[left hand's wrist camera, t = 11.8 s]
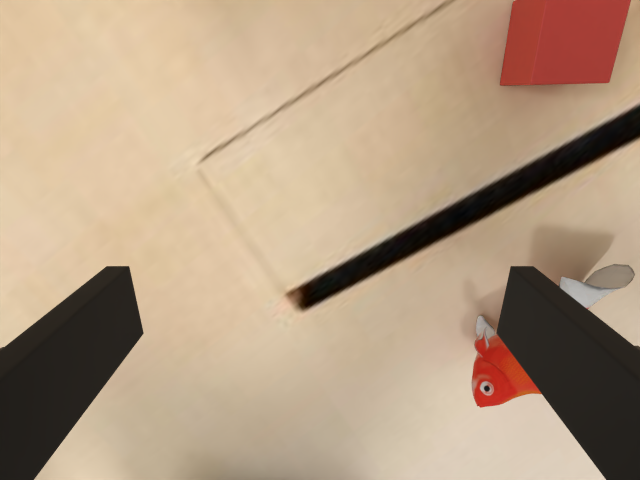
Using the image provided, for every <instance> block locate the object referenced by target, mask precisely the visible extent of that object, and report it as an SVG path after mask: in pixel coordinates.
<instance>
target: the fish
mask: <svg viewBox="0 0 640 480" xmlns="http://www.w3.org/2000/svg"><path fill="white" fill-rule="evenodd" d="M634 276H635V274H634V271H633V269H632V268H631V267H630V266H629V265H618V264H614V265H610V266H607V267H604V268H602V269H600V270H597V271H595V272H594V273H593V274H592V275H591V276H590V277H589V278H588V279H587V280H586V281H585V283H583V282H580V281H576V280H573V279H569V278H565V277H561V280H560V284H559V287H560V288H561V289H562V290H564V291H565V292H566V293H568V294H569V295H570V296H571V297H573V298H574V299H575V300H576V301H578V302H579V303H580V304H581V305H583V306H584V307H585V308H587V309H588V308H589V307H591V306H592V305H593V304H594V303H596V302H597V301H598V300H600V299H601V298H603V297H604V296H606V295H608V294H609V293H611V292H613V291H615V290H617V289H620V288H623V287H626V286H627V285H628V284H629V283H630V282H631V281H632V279H633V278H634ZM476 334H477V336H478V338H477V339H476V341H475V345H474V346H475V348H476V350H477V352H478V353H477V355H476V359H475V362H474V367H473V376H472V392H473V396H474V399H475V402H476V404H477V406H479V407H486V406H495V405H500V404H503V403H505V402H507V401H509V400H511V399H513V398H515V397H518V396H522V395H525V394H531V393H537V394H542V393H541V392H540V391H539V389H538V388H537V387H536V385H535V384H534V383H533V381H532V380H531V379H530V377H529V376H528V375H527V373H526V372H525V371H524V369H523V368H522V367H521V365H520V364H519V363H518V361H517V360H516V359H515V357H514V356H513V355H512V353H511V352H510V351H509V349H508V348H507V347H506V345H505V344H504V343H503V341H502V340H501V339H500V337H499V336H498V335H494V334H495V331H494V329H493V327H492V326H491V325H490V324H489V323H488V322H487V321H486V320H485V319H484V317H483V316H478V318H477V324H476Z"/></svg>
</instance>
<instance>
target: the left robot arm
mask: <svg viewBox="0 0 640 480" xmlns="http://www.w3.org/2000/svg"><path fill="white" fill-rule="evenodd" d="M142 335H143V329H142V324H141V319H140V315H139V310H138V305H137V301H136V296H135V291H134V287H133V282H132V277H131V273H130V268H129V266H107V267H105V268H104V269H103V270H102V271H100V272H99V273H98V274H97V275H95V276H94V277H93V278H91V279H90V280H89V281H88V282H86V283H85V284H84V285H83V286H81V287H80V288H79V289H78V290H76V291H75V292H74V293H72V294H71V295H70V296H69V297H67V298H66V299H65V300H64V301H62V302H61V303H60V304H59V305H57V306H56V307H55V308H53V309H52V310H51V311H50V312H48V313H47V314H46V315H45V316H43V317H42V318H41V319H40V320H38V321H37V322H36V323H34V324H33V325H32V326H31V327H29V328H28V329H27V330H26V331H24V332H23V333H22V334H20V335H19V336H18V337H17V338H15V339H14V340H13V341H12V342H10V343H9V344H8V345H7V346H5V347H2V348H0V480H34V479H35V477H36V476H37V475H38V473H39V472H40V471H41V469H42V468H43V467H44V465H45V464H46V463H47V461H48V460H49V459H50V457H51V456H52V455H53V453H54V452H55V451H56V449H57V448H58V447H59V445H60V444H61V443H62V441H63V440H64V439H65V437H66V436H67V435H68V433H69V432H70V431H71V429H72V428H73V427H74V425H75V424H76V423H77V421H78V420H79V419H80V417H81V416H82V415H83V413H84V412H85V411H86V409H87V408H88V407H89V405H90V404H91V403H92V401H93V400H94V399H95V397H96V396H97V395H98V393H99V392H100V391H101V389H102V388H103V387H104V385H105V384H106V383H107V381H108V380H109V379H110V377H111V376H112V375H113V373H114V372H115V371H116V369H117V368H118V367H119V365H120V364H121V363H122V361H123V360H124V359H125V357H126V356H127V355H128V353H129V352H130V351H131V349H132V348H133V347H134V345H135V344H136V343H137V341H138V340H139V339H140V337H141V336H142ZM497 335H498V336H499V337H500V339H501V340H502V341H503V343H504V344H505V345H506V347H507V348H508V349H509V351H510V352H511V353H512V355H513V356H514V357H515V359H516V360H517V361H518V363H519V364H520V365H521V367H522V368H523V369H524V371H525V372H526V373H527V375H528V376H529V377H530V379H531V380H532V381H533V383H534V384H535V385H536V387H537V388H538V389H539V391H540V392H541V393H542V395H543V396H544V397H545V399H546V400H547V401H548V403H549V404H550V405H551V407H552V408H553V409H554V411H555V412H556V413H557V415H558V416H559V417H560V419H561V420H562V421H563V423H564V424H565V425H566V427H567V428H568V429H569V431H570V432H571V433H572V435H573V436H574V437H575V439H576V440H577V441H578V443H579V444H580V445H581V447H582V448H583V449H584V451H585V452H586V453H587V455H588V456H589V457H590V459H591V460H592V461H593V463H594V464H595V465H596V467H597V468H598V469H599V471H600V472H601V473H602V475H603V476H604V477H605V479H606V480H640V347H639V346H633V345H632V344H631V343H630V342H628V341H627V340H626V339H625V338H623V337H622V336H621V335H620V334H618V333H617V332H616V331H614V330H613V329H612V328H611V327H609V326H608V325H607V324H606V323H604V322H603V321H602V320H600V319H599V318H598V317H597V316H595V315H594V314H593V313H592V312H590V311H589V310H588V309H587V308H585V307H584V306H583V305H581V304H580V303H579V302H578V301H576V300H575V299H574V298H573V297H571V296H570V295H569V294H568V293H566V292H565V291H564V290H562V289H561V288H560V287H559V286H557V285H556V284H555V283H554V282H552V281H551V280H550V279H549V278H547V277H546V276H545V275H543V274H542V273H541V272H540V271H538V270H537V269H536V268H535V267H533V266H511V268H510V273H509V277H508V282H507V287H506V291H505V296H504V301H503V305H502V310H501V315H500V319H499V324H498V329H497Z"/></svg>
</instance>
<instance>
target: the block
mask: <svg viewBox="0 0 640 480" xmlns="http://www.w3.org/2000/svg"><path fill="white" fill-rule="evenodd" d="M630 2H631V0H516V1H514V2H513V5H512V11H511V18H510V24H509V30H508V37H507V43H506V49H505V56H504V62H503V68H502V75H501V81H500V85H546V84H588V83H609V81H610V78H611V74H612V70H613V66H614V62H615V59H616V55H617V51H618V47H619V43H620V40H621V36H622V32H623V28H624V25H625V21H626V17H627V13H628V9H629V6H630Z"/></svg>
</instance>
